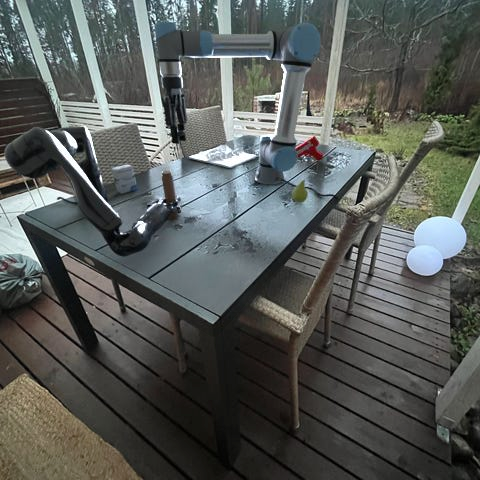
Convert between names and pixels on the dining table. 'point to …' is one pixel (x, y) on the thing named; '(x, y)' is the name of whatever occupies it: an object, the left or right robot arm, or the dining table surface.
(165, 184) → the jar
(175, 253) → the dining table surface
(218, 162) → the relief map
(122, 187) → the ink box
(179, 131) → the lid
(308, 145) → the toy gun
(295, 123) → the right robot arm
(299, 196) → the fruit
